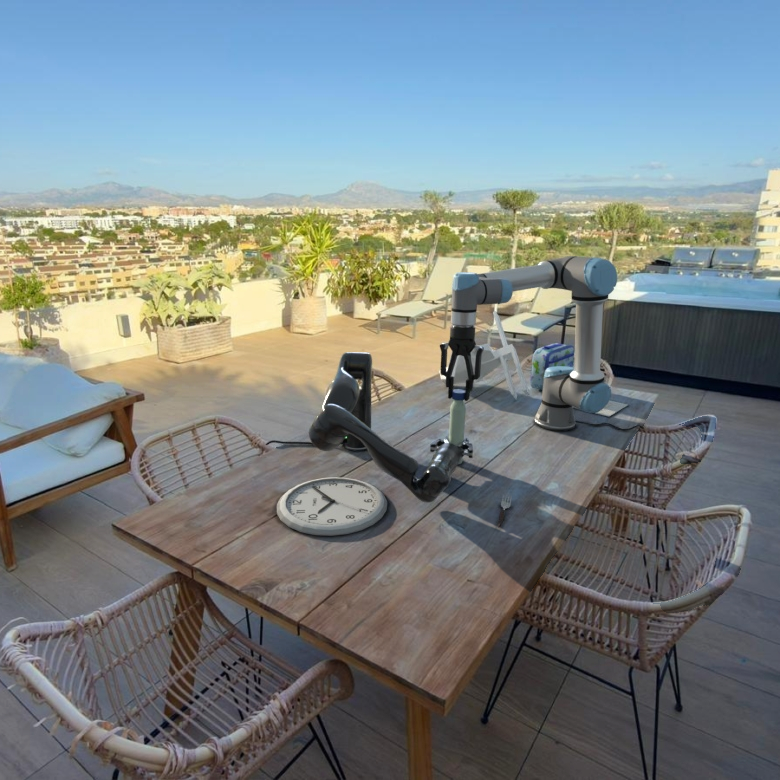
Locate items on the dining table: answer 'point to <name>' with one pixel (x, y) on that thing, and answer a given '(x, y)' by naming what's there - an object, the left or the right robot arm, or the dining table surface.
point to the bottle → (457, 423)
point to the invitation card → (611, 408)
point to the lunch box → (549, 361)
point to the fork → (504, 505)
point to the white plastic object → (490, 362)
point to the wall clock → (331, 506)
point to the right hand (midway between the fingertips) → (458, 398)
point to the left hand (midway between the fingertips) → (457, 439)
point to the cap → (458, 394)
